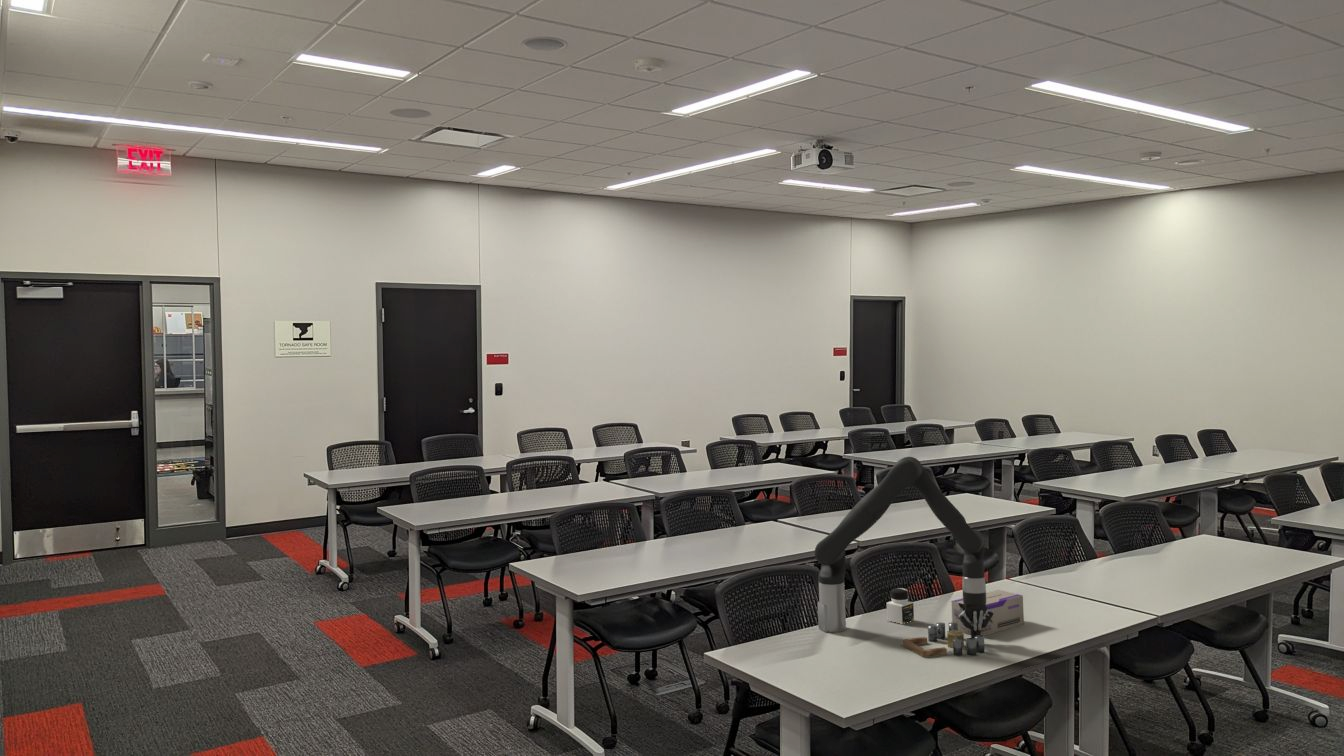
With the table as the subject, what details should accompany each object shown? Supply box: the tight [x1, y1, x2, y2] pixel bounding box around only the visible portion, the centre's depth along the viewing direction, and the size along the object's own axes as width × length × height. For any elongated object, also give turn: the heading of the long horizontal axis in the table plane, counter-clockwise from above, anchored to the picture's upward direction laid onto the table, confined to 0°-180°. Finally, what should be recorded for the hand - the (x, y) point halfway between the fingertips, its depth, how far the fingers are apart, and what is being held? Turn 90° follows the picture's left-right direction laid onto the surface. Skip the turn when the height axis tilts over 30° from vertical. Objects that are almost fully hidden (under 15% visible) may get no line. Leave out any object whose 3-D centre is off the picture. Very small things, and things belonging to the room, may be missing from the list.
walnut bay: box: [901, 636, 948, 659], centre depth 295 cm, size 8×14×2 cm, turn 13°
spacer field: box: [927, 621, 986, 657], centre depth 297 cm, size 11×22×5 cm, turn 13°
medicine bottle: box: [886, 587, 915, 625], centre depth 329 cm, size 7×7×12 cm
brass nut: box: [946, 630, 965, 649], centre depth 297 cm, size 6×5×4 cm
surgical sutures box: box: [951, 589, 1025, 636], centre depth 317 cm, size 25×11×11 cm, turn 121°
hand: (976, 640), depth 299 cm, fingers closed
